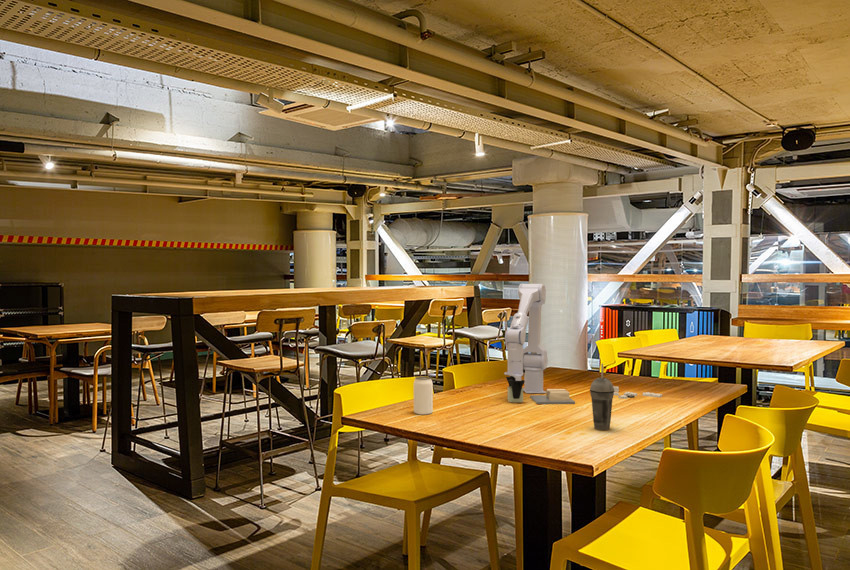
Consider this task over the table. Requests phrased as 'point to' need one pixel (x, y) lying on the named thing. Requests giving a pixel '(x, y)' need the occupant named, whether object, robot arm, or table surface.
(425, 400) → the can
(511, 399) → the sage block
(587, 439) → the table surface
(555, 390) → the birch plinth
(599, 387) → the beverage cup
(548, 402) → the gray board
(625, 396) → the architectural model
